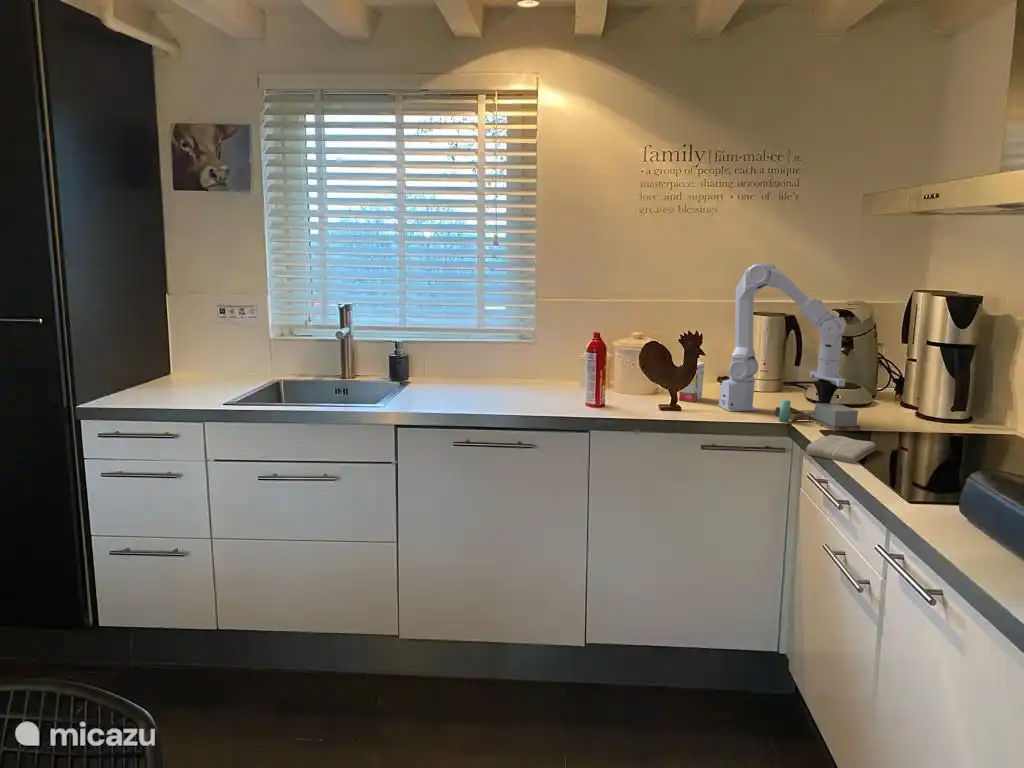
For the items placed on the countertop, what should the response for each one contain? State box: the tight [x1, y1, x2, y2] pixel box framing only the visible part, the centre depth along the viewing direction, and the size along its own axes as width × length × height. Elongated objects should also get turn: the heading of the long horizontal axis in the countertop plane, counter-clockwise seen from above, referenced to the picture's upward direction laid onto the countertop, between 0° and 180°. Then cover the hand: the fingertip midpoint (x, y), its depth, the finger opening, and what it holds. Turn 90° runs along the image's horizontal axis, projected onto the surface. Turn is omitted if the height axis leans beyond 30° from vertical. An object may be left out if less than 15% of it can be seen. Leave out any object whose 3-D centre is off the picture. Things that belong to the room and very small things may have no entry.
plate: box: [799, 407, 862, 432], centre depth 233 cm, size 8×22×3 cm, turn 11°
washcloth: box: [805, 434, 876, 464], centre depth 200 cm, size 12×18×3 cm, turn 142°
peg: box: [778, 399, 792, 423], centre depth 232 cm, size 3×3×6 cm
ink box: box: [678, 361, 706, 403], centre depth 258 cm, size 9×5×12 cm, turn 147°
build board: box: [774, 406, 810, 422], centre depth 237 cm, size 5×10×2 cm, turn 11°
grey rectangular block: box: [814, 402, 859, 427], centre depth 228 cm, size 7×10×4 cm
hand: (824, 406), depth 234 cm, fingers closed
